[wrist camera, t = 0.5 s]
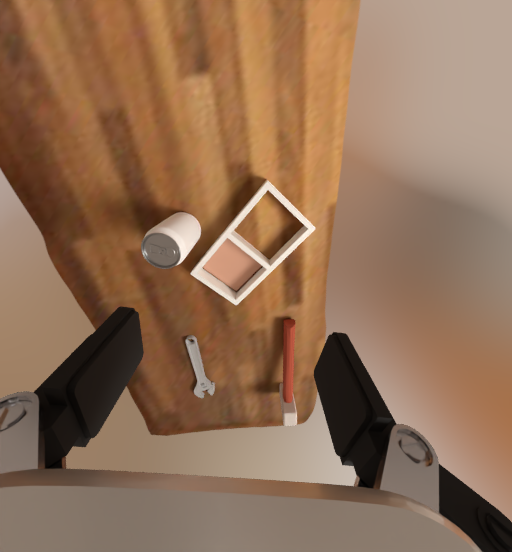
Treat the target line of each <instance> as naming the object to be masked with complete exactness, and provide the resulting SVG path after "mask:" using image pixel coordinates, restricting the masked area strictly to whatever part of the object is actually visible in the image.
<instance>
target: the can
mask: <svg viewBox="0 0 512 552" xmlns="http://www.w3.org/2000/svg"><path fill="white" fill-rule="evenodd" d="M200 236H201V227H200V224H199V222H198V221H197V219H196V218H195V217H194V216H192V215H190V214H188V213H185V212H179V213H175V214H173V215H172V216H170V217H169V218H167V219H165V220H164V221H162V222H161V223H159V224H158V225H156V226H155V227H153V228H152V229H150V230H149V231H148V232H147V233H146V235H145V237H144V239H143V241H142V244H141V250H142V254H143V256H144V258H145V259H146V260H147V261H148V262H149V263H150V264H151V265H153V266H155V267H157V268H161V269H169V268H172V267H174V266H176V265H178V264H180V263H181V262H182V261H183V260H184V259H185V258H186V256H187V255H188V254H189V252H190V251H191V249H192V248H193V247H194V245H195V244H196V242H197V241H198V239H199V238H200Z"/></svg>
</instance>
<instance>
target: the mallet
mask: <svg viewBox="0 0 512 552" xmlns="http://www.w3.org/2000/svg"><path fill="white" fill-rule="evenodd" d="M294 339H295V320H294V319H285V320H284V342H283V383H280V385H279V391H280V401H281V409H282V417H283V424H284V426H294V425H295V426H296V424H297V411H296V406H295V400H294V395H293V369H294Z"/></svg>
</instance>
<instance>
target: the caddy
mask: <svg viewBox="0 0 512 552" xmlns="http://www.w3.org/2000/svg"><path fill="white" fill-rule="evenodd" d="M267 190H269V191H270V192H271V193H272V194H273V195H274V196H275V197H276V198H277V199H278V200H279V201H280V202H281V203H282V204H283V205H284V206H285V207H286V208H287V209H288V210H289V211H290V212H291V213H292V214H293V215H294V216H295V217H296V218H297V219H298V220H299V221H301V222H302V223H303V224H304V226H303V227H302V228H301V229H300V230H299V231H298V232H297V233H296V234H295V235H294V236H293V237H292V238H291V239H290V240H289V241H288V242H287V243H286V244H285V245H284V246H283V247H282V248H281V249H280V250H279V251H278V252H277V253H276V254H275V255H274V256H273V257H272V258H271V259H270V260H269V259H268V258H267V257H265V256H264V255H263V254H262V253H260V252H259V251H258V250H257V249H256V248H254V247H253V246H252V245H251V244H250V243H248V242H247V241H246V240H245V239H244V238H242V237H241V236H240V235H239V234H238V233H236V232H235V231H234V229H235V228H236V227H237V226H238V225H239V223H240V222H241V221H242V220H243V219H244V218H245V216H246V215H247V214H248V213H249V212H250V210H251V209H252V208H253V207H254V206H255V205H256V203H257V202H258V201H259V200H260V199H261V197H262V196H263V195H264V194H265V193H266V192H267ZM315 229H316V228H315V227H314V226H313V225H312V224H311V223H310V222H309V221H308V220H307V219H306V218H305V217H304V216H303V215H302V214H301V213H300V212H299V211H298V210H297V209H296V208H295V207H294V206H293V205H292V204H291V203H290V202H289V201H288V200H287V199H286V198H285V197H284V196H283V195H282V194H281V193H280V192H279V191H278V190H277V189H276V188H275V187H274V186H273V185H272V184H271V183H270V182H269V181H268V180H267V179H266V181H265V182H264V183H263V184H262V185H261V187H260V188H259V189H258V190H257V192H256V193H255V194H254V195H253V196H252V198H251V199H250V200H249V201H248V202H247V204H246V205H245V206H244V207H243V209H242V210H241V211H240V212H239V213H238V215H237V216H236V217H235V218H234V219H233V221H232V222H231V223H230V224H229V225H228V227H227V228H226V229H225V230H224V232H223V233H222V234H221V235H220V236H219V238H218V239H217V240H216V241H215V242H214V244H213V245H212V246H211V247H210V248H209V250H208V251H207V252H206V253H205V255H204V256H203V257H202V258H201V259H200V261H199V262H198V263H197V264H196V265H195V267H194V268H193V270H192V272H191V273H190V274H191V275H192V276H194V277H195V278H197V279H198V280H200V281H201V282H203V283H204V284H206V285H207V286H209V287H210V288H211V289H213V290H214V291H216V292H217V293H219V294H220V295H222V296H223V297H225V298H226V299H228V300H229V301H230V302H232V303H233V304H235V305H237V304H238V303H240V302H241V301H242V300H243V299H244V298H245V297H246V296H247V295H248V294H249V293H250V292H251V291H252V290H253V289H254V288H255V287H256V286H257V285H258V284H259V283H260V282H261V281H262V280H263V279H264V278H265V277H266V276H267V275H268V274H269V273H271V272H272V271H273V270H274V269H275V268H276V267H277V266H278V265H279V264H280V263H281V262H282V261H283V260H284V259H285V258H286V257H287V256H288V255H289V254H290V253H291V252H292V251H293V250H294V249H295V248H296V247H297V246H298V245H299V244H300V243H302V242H303V241H304V240H305V239H306V238H307V237H308V236H309V235H310V234H311V233H312V232H313V231H314V230H315ZM224 241H225V242H224ZM223 242H224V243H223ZM218 248H219V249H218ZM217 249H218V250H217ZM212 255H213V256H212ZM207 261H208V262H207ZM206 262H207V263H206ZM261 266H263V267H262V268H261V269H260V270H259V271H258V272H257V273H256V274H255V275H254V276H253V277H252V278H251V279H250V280H249V281H248V282H247V283H246V284H245V285H244V286H243V287H242V288H241V289H240V290H239V291H238V292H237V293H236V292H235V291H234V290H236V291H237V290H238V289H239V288H240V287H241V286H242V285H243V284H244V283H245V282H246V281H247V280H248V279H249V278H250V277H251V276H252V275H253V274H254V273H255V272H256V271H257V270H258V269H259V268H260V267H261ZM202 267H203V268H205V269H206V270H207V271H209V272H210V273H212V274H213V275H214V276H216V277H217V278H219V279H220V280H221V281H223V282H224V283H226V284H227V285H228V286H230V287H231V288H233V289H234V290H232V289H231V288H229V287H228V286H227V285H225V284H224V283H222V282H221V281H220V280H218V279H217V278H215V277H214V276H212V275H211V274H210V273H208V272H207V271H205V270H204V269H203V268H202Z"/></svg>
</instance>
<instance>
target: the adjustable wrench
mask: <svg viewBox="0 0 512 552" xmlns="http://www.w3.org/2000/svg"><path fill="white" fill-rule="evenodd" d="M188 339H193V340H194V341H193V342H191V341H189V340H188ZM185 342H186V345H187V349H188V352H189V355H190V358H191V361H192V365H193V368H194V371H195V374H196V377H197V384H196V386H195V388H194V394H195V395H196V396H198V397H200V398H204V393H203V392H202V391H204V390H207V389H208V393H209V394H210V395H213V393H214V389H215V383H213V382H211V381H209V380H208V379H207V378H206V376H205V373H204V369H203V364H202V360H201V356H200V352H199V348H198V343H197V339H196V337H195V336H192V335H190V336H188V337H187V338H186V341H185Z"/></svg>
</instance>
